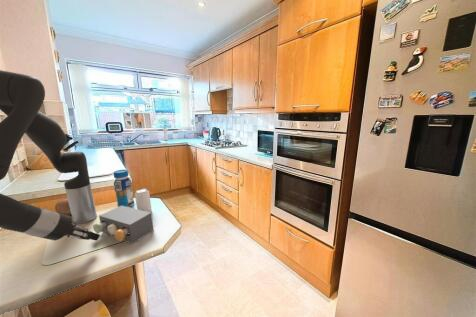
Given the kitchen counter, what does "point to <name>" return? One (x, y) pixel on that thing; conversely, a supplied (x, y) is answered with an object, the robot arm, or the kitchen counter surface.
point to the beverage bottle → (123, 188)
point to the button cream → (112, 228)
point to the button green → (100, 226)
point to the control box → (129, 222)
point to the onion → (63, 207)
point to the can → (143, 200)
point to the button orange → (121, 234)
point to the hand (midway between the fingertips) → (97, 237)
